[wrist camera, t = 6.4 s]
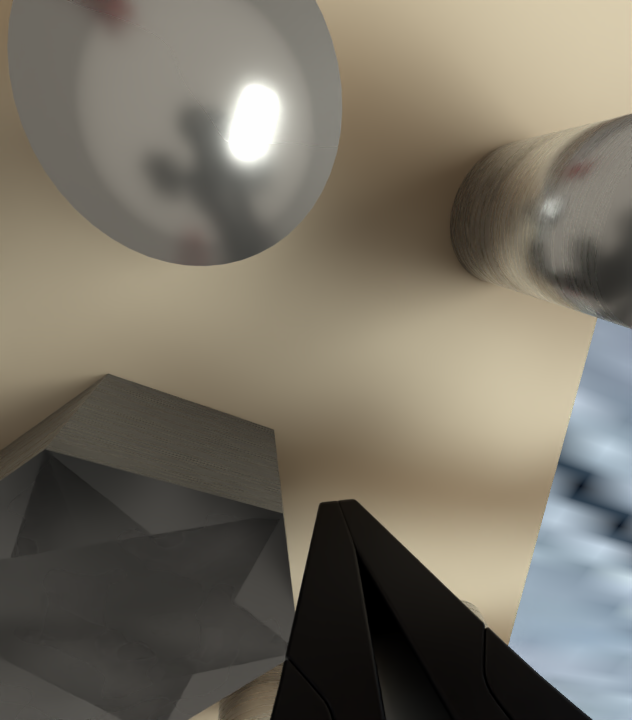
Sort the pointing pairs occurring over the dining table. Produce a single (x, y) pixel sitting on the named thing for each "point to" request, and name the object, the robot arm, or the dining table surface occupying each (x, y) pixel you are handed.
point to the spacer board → (351, 293)
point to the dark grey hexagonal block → (139, 559)
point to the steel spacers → (284, 157)
